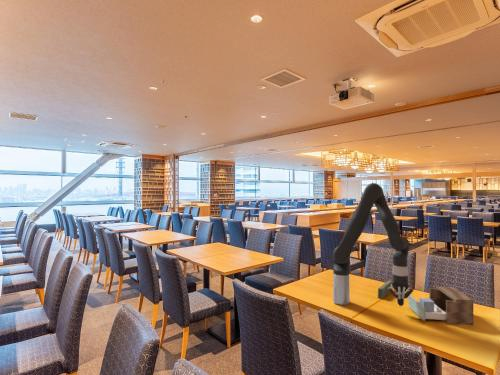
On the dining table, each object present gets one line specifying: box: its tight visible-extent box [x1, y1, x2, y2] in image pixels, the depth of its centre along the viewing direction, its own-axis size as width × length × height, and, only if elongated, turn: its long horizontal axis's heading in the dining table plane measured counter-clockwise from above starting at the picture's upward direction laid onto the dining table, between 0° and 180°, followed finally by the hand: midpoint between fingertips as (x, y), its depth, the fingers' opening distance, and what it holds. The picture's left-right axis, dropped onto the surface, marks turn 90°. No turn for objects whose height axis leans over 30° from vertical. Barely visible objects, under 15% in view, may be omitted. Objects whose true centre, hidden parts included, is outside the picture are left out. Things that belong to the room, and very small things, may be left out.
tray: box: [407, 294, 446, 321], centre depth 156 cm, size 12×19×6 cm, turn 171°
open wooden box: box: [429, 286, 475, 326], centre depth 154 cm, size 12×19×13 cm, turn 171°
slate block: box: [419, 297, 434, 312], centre depth 156 cm, size 5×5×6 cm
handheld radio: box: [377, 280, 392, 300], centre depth 188 cm, size 7×3×25 cm
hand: (400, 305), depth 158 cm, fingers closed
